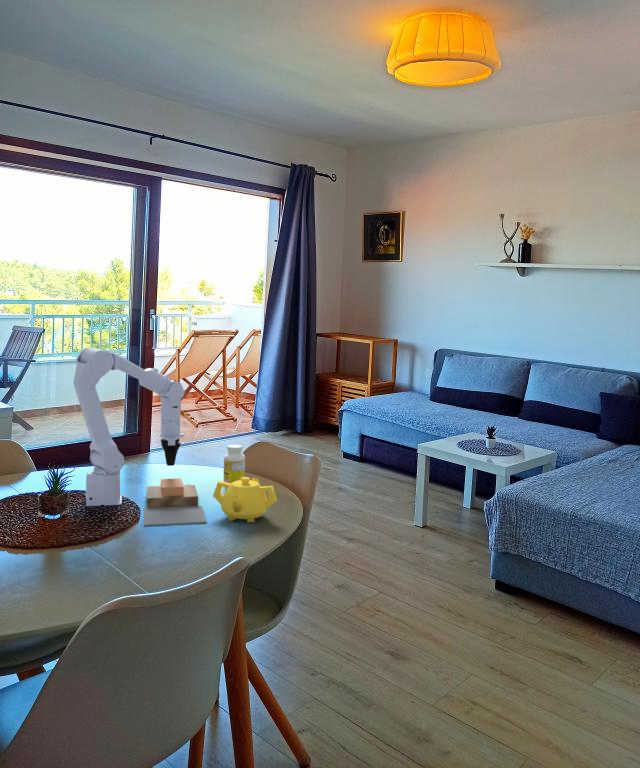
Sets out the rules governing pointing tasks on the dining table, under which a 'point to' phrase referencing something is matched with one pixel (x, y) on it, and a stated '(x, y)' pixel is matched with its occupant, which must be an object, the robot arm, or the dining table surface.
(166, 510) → the mat
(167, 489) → the orange flat block
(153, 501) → the stand
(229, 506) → the teapot
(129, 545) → the dining table surface
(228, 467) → the supplement bottle
